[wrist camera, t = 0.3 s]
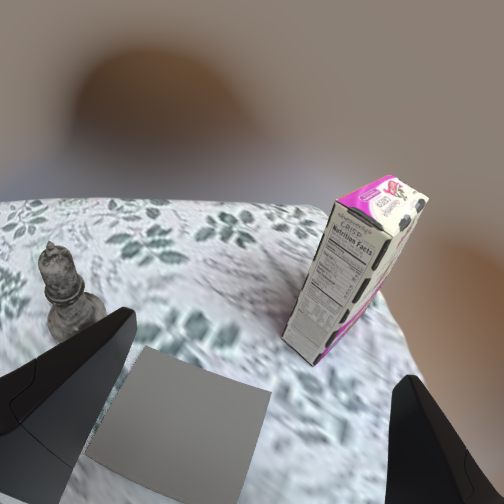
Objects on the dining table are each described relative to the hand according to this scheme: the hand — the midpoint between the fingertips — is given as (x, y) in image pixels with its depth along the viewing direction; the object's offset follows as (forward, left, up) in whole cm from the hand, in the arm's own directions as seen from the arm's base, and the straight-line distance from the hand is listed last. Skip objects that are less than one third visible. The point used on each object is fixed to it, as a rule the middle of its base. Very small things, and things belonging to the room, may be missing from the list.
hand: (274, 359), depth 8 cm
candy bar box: (+17, -6, -17) cm, 25 cm away
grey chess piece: (+5, +16, -17) cm, 24 cm away
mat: (+1, +4, -17) cm, 17 cm away
